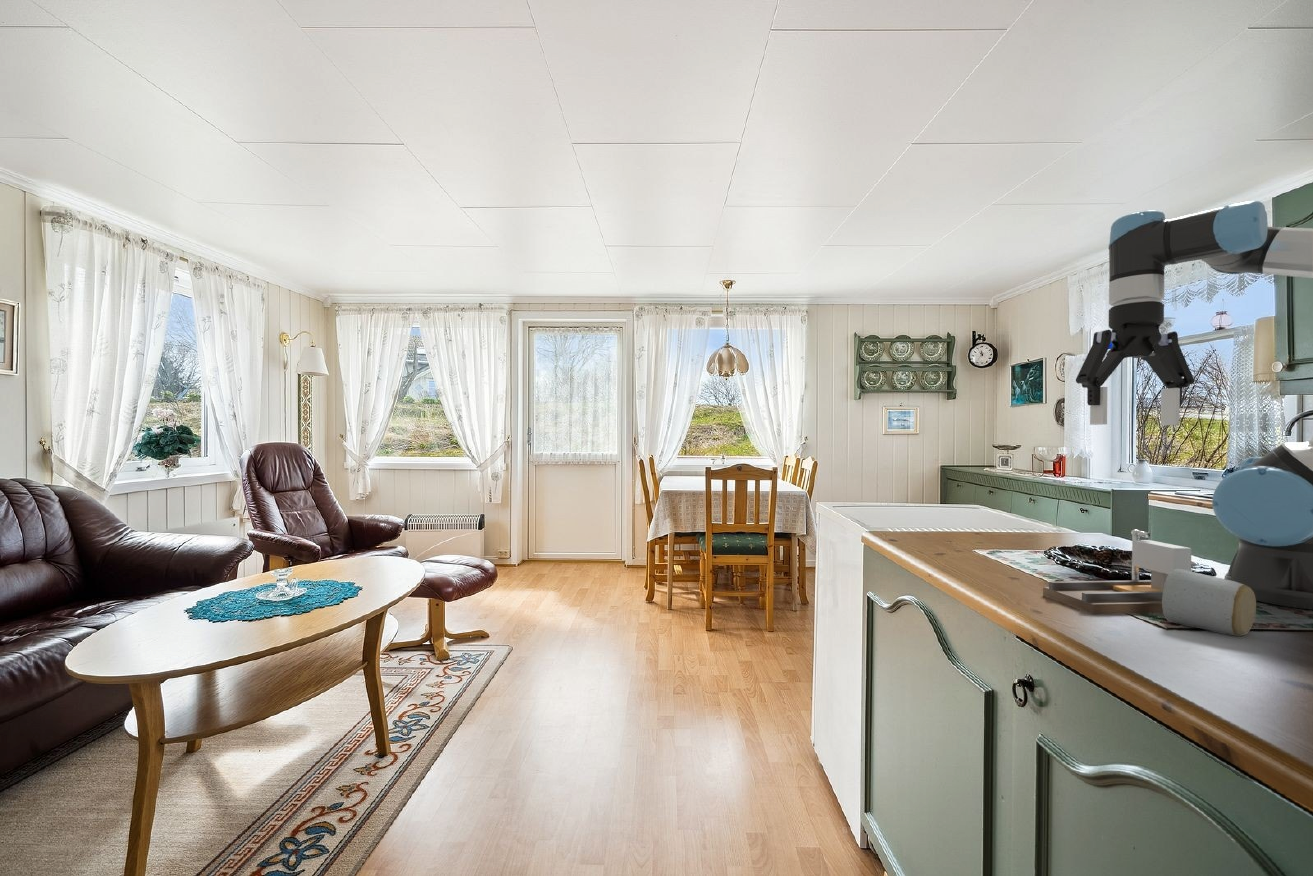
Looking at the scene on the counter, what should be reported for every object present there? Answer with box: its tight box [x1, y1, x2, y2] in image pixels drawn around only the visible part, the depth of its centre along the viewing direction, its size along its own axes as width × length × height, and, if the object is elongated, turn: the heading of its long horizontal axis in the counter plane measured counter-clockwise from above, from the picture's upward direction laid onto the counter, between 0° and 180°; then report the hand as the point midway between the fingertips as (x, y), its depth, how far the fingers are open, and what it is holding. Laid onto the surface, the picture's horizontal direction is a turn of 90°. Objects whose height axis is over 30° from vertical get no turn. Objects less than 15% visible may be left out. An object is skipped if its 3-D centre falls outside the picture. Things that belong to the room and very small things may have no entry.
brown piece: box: [1042, 579, 1164, 615], centre depth 92 cm, size 18×10×3 cm, turn 95°
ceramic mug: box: [1162, 569, 1257, 637], centre depth 81 cm, size 11×8×8 cm
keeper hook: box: [1130, 528, 1151, 580], centre depth 96 cm, size 2×3×10 cm
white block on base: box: [1113, 539, 1192, 592], centre depth 93 cm, size 11×7×8 cm, turn 95°
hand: (1134, 425), depth 102 cm, fingers open, 13 cm apart
